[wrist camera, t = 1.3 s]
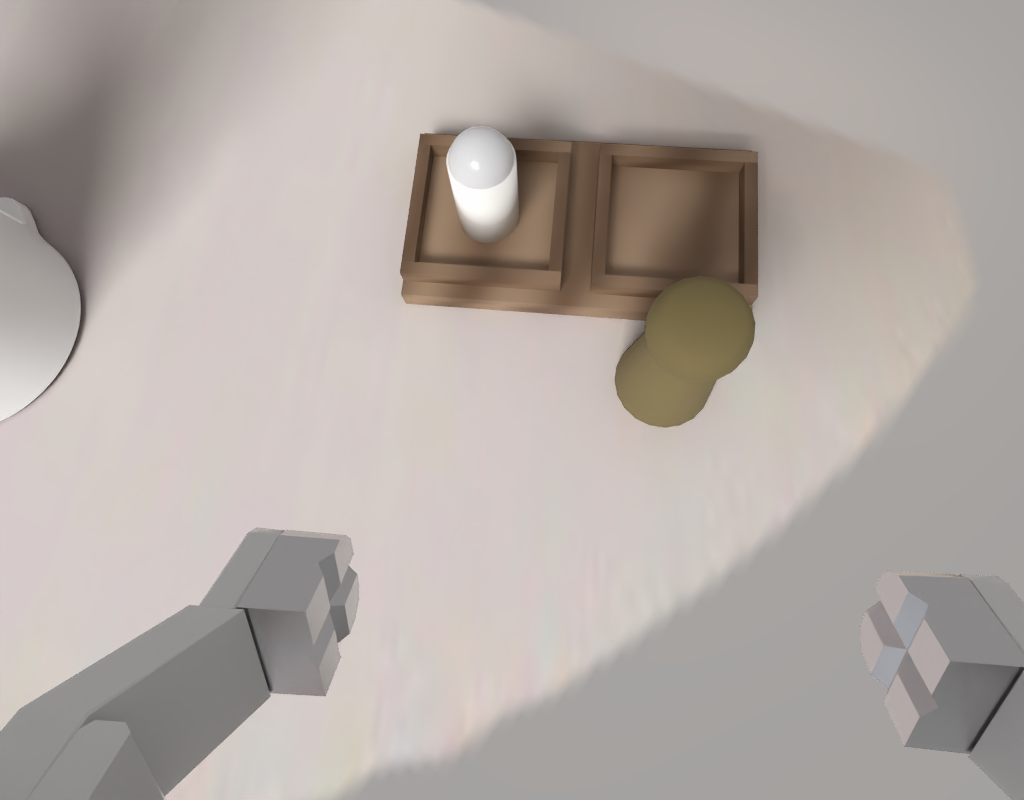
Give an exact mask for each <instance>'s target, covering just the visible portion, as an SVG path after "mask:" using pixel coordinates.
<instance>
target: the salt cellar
mask: <svg viewBox="0 0 1024 800" xmlns="http://www.w3.org/2000/svg"><path fill="white" fill-rule="evenodd" d="M446 165H447V170H448V174H449V179H450V183H451V187H452V191H453V196H454V200H455V204H456V208H457V213H458V217H459V221H460V225H461V227H462V229H463V231H464V232H465V233H466V234H467V235H468V236H469V237H470V238H472V239H473V240H476V241H478V242H482V243H495V242H498V241H501V240H503V239H505V238H507V237H508V236H509V235H510V234H512V232H513V231H514V230H515V228H516V227H517V225H518V221H519V199H518V181H517V163H516V153H515V150H514V147H513V146H512V144H511V142H510V141H509V140H508V139H507V138H506V137H505V136H504V135H502V134H501V133H500V132H499V131H497V130H495V129H493V128H490V127H487V126H475V127H471V128H468V129H466V130H465V131H463V132H462V133H461V134H459V135H458V136H457V137H456V139H455V140H454V142H453V143H452V145H451V147H450V149H449V151H448V153H447V158H446Z"/></svg>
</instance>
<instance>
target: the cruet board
mask: <svg viewBox="0 0 1024 800" xmlns="http://www.w3.org/2000/svg"><path fill="white" fill-rule="evenodd" d="M457 136H458V135H447V134H428V133H425V134H420V140H419V147H418V153H417V160H416V167H415V174H414V181H413V188H412V194H411V201H410V208H409V215H408V222H407V228H406V235H405V242H404V249H403V256H402V262H401V269H400V274H401V276H402V278H403V286H402V293H401V295H402V297H403V299H404V301H405V302H406V303H407V304H421V305H435V306H449V307H464V308H478V309H492V310H506V311H520V312H534V313H548V314H562V315H576V316H590V317H605V318H619V319H633V320H646V317H647V315H648V312H649V310H650V308H651V306H652V304H653V302H654V300H655V299H656V298H657V297H658V296H659V295H660V294H661V293H662V292H663V291H664V290H665V289H666V288H667V287H668V286H670V285H672V284H674V283H676V282H678V281H680V280H682V279H684V278H691V277H697V276H703V277H710V278H716V279H719V280H721V281H723V282H725V283H728V284H730V285H731V286H733V287H734V288H735V289H736V290H737V291H738V292H740V293H741V294H742V295H743V296H744V298H745V299H746V301H747V302H748V304H749V306H750V307H751V309H752V303H753V302H754V301H755V300H756V298H757V297H758V152H752V151H745V150H726V149H708V148H689V147H670V146H652V145H633V144H615V143H596V142H577V141H559V140H540V139H521V138H507V139H508V140H509V141H510V142H511V144H512V146H513V147H514V150H515V153H516V163H517V181H518V199H519V221H518V225H517V227H516V228H515V230H514V231H513V232H512V234H510V235H509V236H508V237H507V238H505V239H503V240H501V241H498V242H495V243H482V242H478V241H476V240H473V239H472V238H470V237H469V236H468V235H467V234H466V233H465V232H464V231H463V229H462V227H461V225H460V221H459V217H458V213H457V208H456V204H455V200H454V196H453V191H452V187H451V183H450V179H449V174H448V170H447V165H446V158H447V153H448V151H449V149H450V147H451V145H452V143H453V142H454V140H455V139H456V137H457Z"/></svg>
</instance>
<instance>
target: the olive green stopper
mask: <svg viewBox="0 0 1024 800" xmlns="http://www.w3.org/2000/svg"><path fill="white" fill-rule="evenodd" d="M754 333H755V320H754V317H753V313H752V309H751V307H750V306H749V304H748V302H747V301H746V299H745V298H744V296H743V295H742V294H741V293H740V292H738V291H737V290H736V289H735V288H734V287H733V286H731V285H730V284H728V283H725V282H723V281H721V280H719V279H716V278H710V277H703V276H697V277H691V278H684V279H682V280H680V281H678V282H676V283H674V284H672V285H670V286H668V287H667V288H666V289H665V290H664V291H663V292H662V293H661V294H660V295H659V296H658V297H657V298H656V299H655V300H654V302H653V304H652V306H651V308H650V310H649V312H648V315H647V317H646V325H645V332H644V333H643V334H642V335H641V336H640V337H639V338H638V340H637V341H636V342H635V343H634V344H633V345H632V346H631V347H630V348H629V349H628V350H627V351H626V352H625V353H624V354H623V355H622V357H621V359H620V361H619V363H618V365H617V368H616V375H615V385H616V390H617V395H618V397H619V399H620V400H621V402H622V404H623V406H624V408H625V409H626V410H627V411H629V412H630V413H631V414H632V415H633V416H634V417H635V418H636V419H638V420H640V421H642V422H644V423H646V424H648V425H653V426H659V427H671V426H677V425H681V424H683V423H685V422H687V421H689V420H691V419H693V418H694V417H695V416H696V415H697V414H698V413H699V412H700V411H701V410H702V409H703V407H704V405H705V403H706V401H707V399H708V397H709V395H710V393H711V391H712V389H713V386H714V384H715V382H716V380H717V379H719V378H721V377H723V376H725V375H727V374H729V373H731V372H732V371H733V370H734V369H736V368H737V366H738V365H739V364H740V363H741V362H742V361H743V360H744V359H745V358H746V357H747V355H748V353H749V351H750V348H751V346H752V344H753V341H754Z"/></svg>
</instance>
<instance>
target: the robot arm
mask: <svg viewBox="0 0 1024 800" xmlns="http://www.w3.org/2000/svg"><path fill="white" fill-rule="evenodd" d="M80 314H81V302H80V293H79V288H78V284H77V281H76V278H75V276H74V274H73V272H72V270H71V268H70V266H69V265H68V263H67V262H66V260H65V259H64V258H63V257H62V256H61V255H60V254H59V253H58V251H56V250H55V249H54V248H53V247H52V246H51V245H49V244H48V243H47V242H46V241H45V240H44V239H43V238H42V237H41V236H40V234H39V233H38V230H37V227H36V224H35V221H34V219H33V216H32V214H31V212H30V211H29V209H28V208H27V207H26V206H25V205H23V204H21V203H19V202H18V201H16V200H14V199H12V198H7V197H2V198H0V421H2V420H4V419H6V418H8V417H10V416H11V415H13V414H15V413H17V412H18V411H20V410H21V409H23V408H24V407H25V406H27V405H28V404H29V403H31V402H32V401H33V400H34V399H35V398H37V397H38V396H39V395H40V394H41V393H42V392H43V391H44V390H45V389H46V388H47V387H48V386H49V385H50V383H51V382H52V381H53V380H54V378H55V377H56V376H57V374H58V373H59V372H60V370H61V369H62V367H63V365H64V364H65V362H66V360H67V358H68V356H69V354H70V352H71V350H72V348H73V345H74V342H75V339H76V336H77V332H78V328H79V323H80ZM353 554H354V553H353V548H352V544H351V539H350V538H349V537H348V536H346V535H338V534H327V533H316V532H305V531H294V530H286V531H285V530H275V529H264V528H255V529H254V530H252V531H250V532H249V533H248V534H247V535H246V536H245V538H244V539H243V541H242V542H241V544H240V545H239V547H238V548H237V550H236V551H235V553H234V554H233V556H232V557H231V559H230V560H229V562H228V563H227V565H226V566H225V568H224V569H223V571H222V572H221V574H220V575H219V577H218V578H217V580H216V581H215V583H214V584H213V586H212V587H211V589H210V590H209V592H208V593H207V594H206V596H205V597H204V599H203V600H202V602H201V603H200V605H199V606H194V605H189V606H187V607H186V608H184V609H183V610H181V611H179V612H178V613H176V614H174V615H173V616H171V617H169V618H168V619H166V620H165V621H163V622H161V623H160V624H158V625H156V626H155V627H153V628H151V629H150V630H148V631H147V632H145V633H143V634H142V635H140V636H138V637H137V638H135V639H133V640H132V641H130V642H129V643H127V644H125V645H124V646H122V647H120V648H119V649H117V650H115V651H114V652H112V653H111V654H109V655H107V656H106V657H104V658H102V659H101V660H99V661H97V662H96V663H94V664H93V665H91V666H89V667H88V668H86V669H84V670H83V671H81V672H79V673H78V674H76V675H75V676H73V677H71V678H70V679H68V680H66V681H65V682H63V683H61V684H60V685H58V686H57V687H55V688H53V689H52V690H50V691H48V692H47V693H45V694H43V695H42V696H40V697H39V698H37V699H35V700H34V701H32V702H30V703H29V704H27V705H25V706H24V707H22V708H21V709H19V710H18V711H17V713H16V714H15V715H14V716H13V717H12V719H11V720H10V721H9V722H8V723H7V725H6V726H5V727H4V728H3V729H2V731H1V732H0V800H166V799H165V797H164V796H165V795H166V794H168V793H169V792H170V791H171V790H172V789H173V788H174V787H175V786H176V785H177V784H178V783H179V782H180V781H181V780H182V779H183V778H185V777H186V776H187V775H188V774H189V773H190V772H191V771H192V770H193V769H194V768H195V767H196V766H197V765H198V764H199V763H200V762H202V761H203V760H204V759H205V758H206V757H207V756H208V755H209V754H210V753H211V752H212V751H213V750H214V749H215V748H216V747H217V746H218V745H220V744H221V743H222V742H223V741H224V740H225V739H226V738H227V737H228V736H229V735H230V734H231V733H232V732H233V731H234V730H235V729H237V728H238V727H239V726H240V725H241V724H242V723H243V722H244V721H245V720H246V719H247V718H248V717H249V716H250V715H251V714H252V713H254V712H255V711H256V710H257V709H258V708H259V707H260V706H261V705H262V704H263V703H264V702H265V701H266V700H267V699H268V698H269V697H270V693H278V694H296V695H313V696H326V694H327V691H328V689H329V686H330V683H331V681H332V678H333V676H334V673H335V671H336V668H337V665H338V663H339V660H340V653H339V648H338V642H340V641H341V640H342V639H344V638H345V637H346V636H347V635H349V634H350V632H351V629H352V626H353V623H354V620H355V617H356V612H357V607H358V601H359V583H358V576H357V573H355V572H354V571H353V570H352V569H351V568H350V567H349V563H350V561H351V559H352V556H353ZM875 590H876V592H877V594H878V596H879V598H880V600H881V601H879V602H878V603H876V604H875V605H873V606H872V607H870V608H869V609H867V610H866V612H865V615H864V618H863V621H862V623H861V626H860V627H861V628H860V631H861V632H860V635H861V636H860V638H861V640H860V642H861V648H862V653H863V657H864V660H865V662H866V664H867V667H868V669H869V671H870V674H871V675H872V676H873V677H874V678H876V679H877V680H878V681H879V682H880V683H881V684H883V685H884V686H885V687H886V688H887V689H888V692H887V694H886V697H885V700H884V704H885V707H886V709H887V711H888V713H889V715H890V717H891V719H892V722H893V724H894V726H895V728H896V730H897V732H898V734H899V737H900V739H901V741H902V743H903V745H904V746H905V747H913V748H922V749H930V750H939V751H948V752H957V753H966V754H970V755H969V758H970V759H971V760H972V761H973V762H974V763H975V764H976V765H977V766H978V767H979V768H980V769H981V770H982V771H983V772H984V773H985V774H986V775H987V776H988V777H989V778H990V779H991V780H992V781H993V782H994V783H996V785H997V786H998V787H999V788H1001V789H1002V790H1003V791H1004V792H1005V793H1006V794H1007V795H1008V796H1009V797H1010V798H1011V799H1012V800H1024V603H1023V601H1022V600H1021V599H1020V598H1019V597H1018V595H1017V594H1016V593H1015V591H1014V590H1013V589H1012V588H1011V586H1010V585H1009V584H1008V583H1007V582H1005V581H1004V580H1002V579H1001V578H999V577H997V576H979V575H954V574H937V573H920V572H903V571H886V572H885V573H884V574H883V575H882V576H881V577H880V578H879V581H878V583H877V585H876V588H875Z"/></svg>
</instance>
